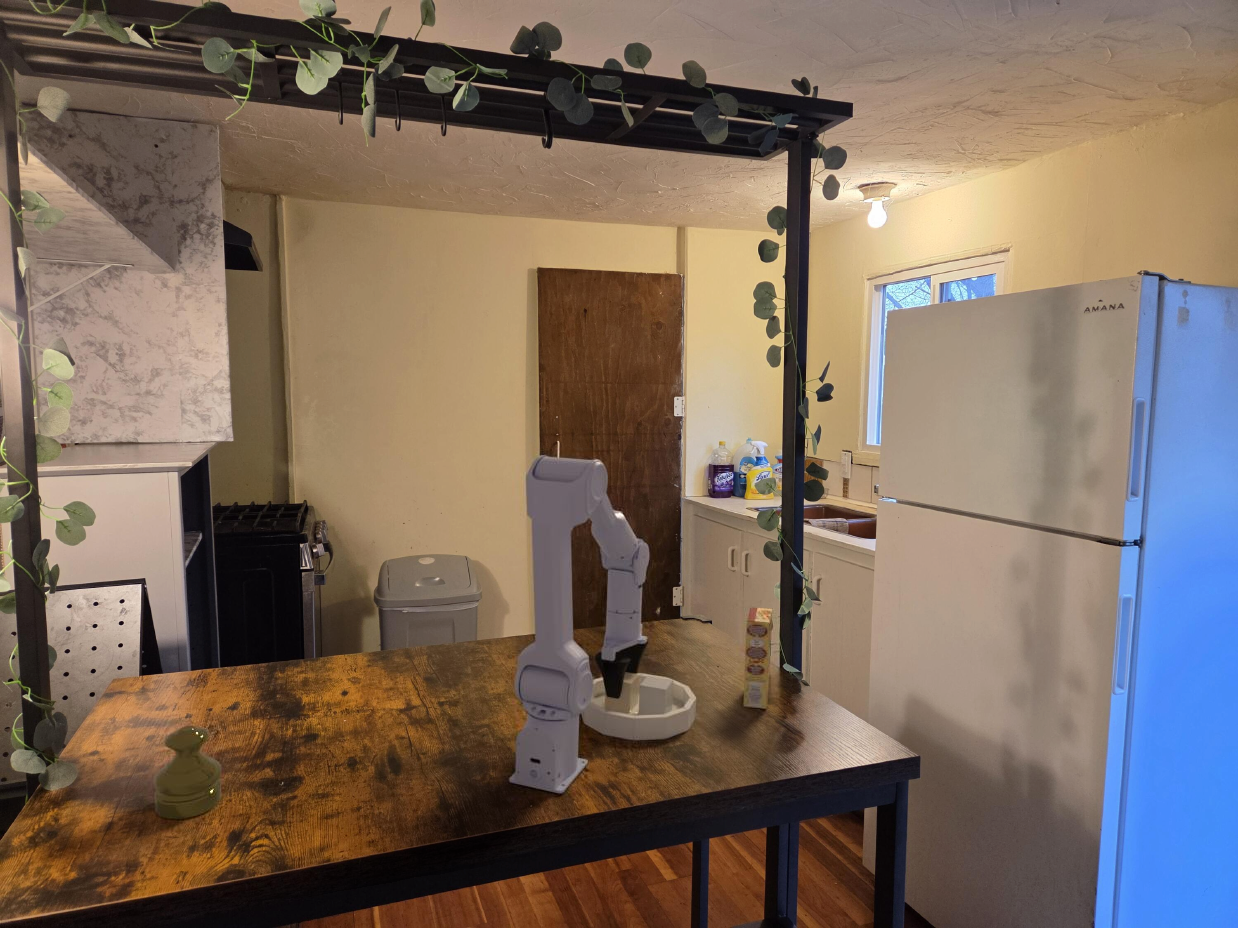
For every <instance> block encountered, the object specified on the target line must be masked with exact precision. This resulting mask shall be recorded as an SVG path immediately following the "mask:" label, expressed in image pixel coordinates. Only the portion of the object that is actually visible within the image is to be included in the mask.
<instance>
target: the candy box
mask: <svg viewBox="0 0 1238 928" xmlns="http://www.w3.org/2000/svg"><path fill="white" fill-rule="evenodd" d="M747 616H748V617H747V620H746V628H745V629H746V630H745V631H746V632H745V656H744V657H745V658H744V661H745V662H744V683H743V684H744V687H743V707H745V708H754V709H763V710H766V709H767V705H768V698H769V689H770V688H769V687H770V674H771V673H770V672H771V650H772V648H771V647H772V622H773V621H772V619H773V609H772V608H762V607H750V608H749V611H748V615H747Z"/></svg>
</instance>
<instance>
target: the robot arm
mask: <svg viewBox="0 0 1238 928" xmlns="http://www.w3.org/2000/svg"><path fill="white" fill-rule="evenodd" d="M608 478H609V477H608V470H607V468H606V466H605V465H604V463H603V462H602V460H601V459H582V458H581V459H579V458H568V457H559V456H558V457H556V456H548V455H545V454H544V455H539V456H537V457H536V458H535V460H533V462H532V464H531V466H530V468H529V469H528V471H527V473H526V475H525V491H526V493H525V496H526V515H527V516H528V517H529V518H530V519H531V542H532V575H533V577H532V578H533V600H534V601H533V605H534V607H533V608H534V609H533V610H534V633H535V634H534V635H535V636H534V639H535V641H534V642H533V643H531V644H529V645H527V646H526V647H525V648H524V649H523V650H522V651H521V652H520V654H519V655H518V657H517V669H516V673H515V676H514V677H515V678H514V692H515V695H516V697H517V700H518V701H520V702H521V703H522V710H523V711H526V712H527V715H526V721H525V723H524V725H523V728H522V729H521V730H520V732H519V733H518V735H517V736H516V740H515V771H514V773H513V774H512V775H511V776H510V777H509V778H508V782H510V783H511V784H516V785H521V786H525V787H529V788H533V789H537V790H543V791H547V792H550V793H551V792H552V793H555V794H563V793H565V791H566V790H567V789H568V787H570V785H571V784H572V783H573V781H575V779H576V778H577V777H578V776H579V775H580V773H582V771H583V770H584V769H585V768H586V766H587V765H588V764H589V761H588V759H585V758H580V757H579V736H580V735H579V732H580V730H579V729H580V728H579V727H580V715H581V713H582V712H583V711H584V710H585V709H586V708H587V706H588V705H589V703H590V700H591V698H592V694H593V687H594V682H593V680H594V677H593V675H592V672H591V668H590V665H591V664H590V657H589V655H588V654H587V652H585V651H584V649H583V648H581V646H579V644H577V642H576V641H575V640H574V622H573V621H574V619H573V618H574V617H573V616H574V615H573V613H574V612H573V578H572V577H573V573H572V572H573V571H572V566H573V565H572V530H573V529H574V528H575V527H577V526H580V525H582V524H584V523H586V522H587V521H588V520H590V521H591V527H590V530H591V535H592V536H593V538H594V540H595V541H596V543H597V545H598V546H599V548H600V549H599V551H600V552H599V553H600V554H601V563H602V567H603V568H604V569H605V570H608V571H607V589H606V590H607V591H606V592H607V594H606V595H607V596H606V617H605V618H606V621H605V622H606V623H605V625H606V626H605V633H604V639H603V641H604V642H603V646H602V647H601V651H598V652H597V653H596V654H595V655H594V661H595V663H596V665H597V667H598V669H599V670H600V674H601V678H602V677H603V681H604V686H605V691H606V695H607V697H610V698H616V699H619V698H620V695H621V692H622V686H623V680H624V675H625V672H627V673H634V674H637V673H638V672H639V667H640V663H641V659H642V656H643V655H644V652H645V650H646V648H647V647H648V645H649V639H648V636H645V635H643V623H642V606H643V605H642V604H643V603H642V601H643V600H642V599H643V584H644V583H645V581H646V578H647V569H648V566H649V561H650V550H649V549H650V548H649V545H648V544H647V542H644V539H642V538H637V536H636V535H635V533H634V531H633V529H632V528H631V526H630V524H629V522H628V521H627V519H626V517H625V515H624V514H623V511H618V510H615V509H613V506H612V504H611V501H610V499H609V496H608V494H607V490H608V484H609V483H608V482H609V481H608V480H609V479H608Z"/></svg>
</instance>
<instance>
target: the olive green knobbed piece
mask: <svg viewBox="0 0 1238 928" xmlns="http://www.w3.org/2000/svg"><path fill="white" fill-rule="evenodd" d="M210 738H211V733H210V730H208V729H207V728H204V727H200V726H194V725H184V726H182V727H180V728H178V729H176V730H175V731H172V732H171V733H169V734H168V735H167V736H166V737H165V738H164V746H165V747H167V748H168V749H170V750H172V751H173V752H175V756H174V757H173V758H172V759H171V760H170V761H168V762H167V764H166V765H164V766H163V767H162V768H160V769H159V770H158V771H157V773H156V774H155V776H154V779H153V785H154V788H155V790H156V791H155V793H154V795H153V796H154V797H153V798H154V799H155V800H154V802H155V803H154V805H155V806H154V808H155V813H156V814H157V815H158V816H159V817H161V818H164V819H166V820H167V819H169V820H184V819H190V818H194V817H197V816H200V815H202V814H205V813H207V812H208V811H210V810H212V809H213V808H215V807H216V806H217V805H218V804H219V803H220V801H221V799H222V784H223V783H222V782H223V781H222V780H221V779H220V777H221V774H222V765H221V763H220V762H219V761H217V759H216V758H213V757H209V756H208V755H207V754H206V753H205V754H204V753H203V752H202V751H201V748H202V746H203V745H204V744H205V743H207V742H208V741H209V739H210Z"/></svg>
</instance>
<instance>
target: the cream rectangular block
mask: <svg viewBox="0 0 1238 928" xmlns="http://www.w3.org/2000/svg"><path fill="white" fill-rule="evenodd" d="M638 694H639V674H634V673H627V672H625V675H624V680H623V686H622V692H621V695H620V698H619V699H616V698H610V697H607V695H606V691H605V709H610V710H616V711H621V712H627V713H630V712H631V711H632V710H633V709H634V707H635V706H636V705H637V704H638Z"/></svg>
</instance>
